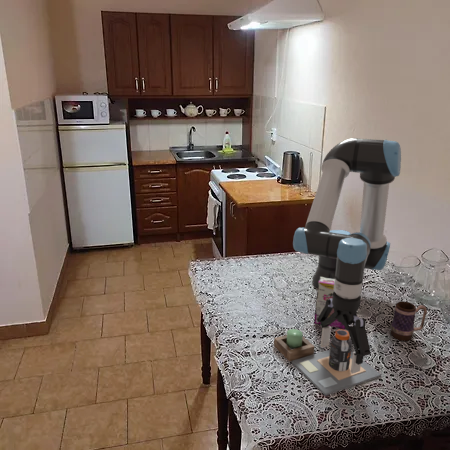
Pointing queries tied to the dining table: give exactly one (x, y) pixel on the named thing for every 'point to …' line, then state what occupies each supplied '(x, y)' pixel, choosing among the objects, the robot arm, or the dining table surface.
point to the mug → (405, 321)
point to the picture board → (332, 373)
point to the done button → (294, 338)
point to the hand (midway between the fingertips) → (339, 358)
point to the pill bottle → (340, 351)
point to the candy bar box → (324, 294)
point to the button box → (295, 353)
